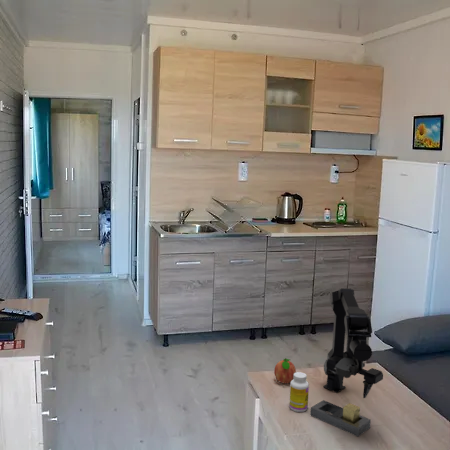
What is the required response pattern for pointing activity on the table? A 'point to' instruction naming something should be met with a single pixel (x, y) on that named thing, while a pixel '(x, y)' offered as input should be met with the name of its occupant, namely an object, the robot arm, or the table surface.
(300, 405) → the supplement bottle
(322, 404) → the grey block holder tray
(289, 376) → the fruit
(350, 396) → the table surface
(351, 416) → the olive grained block
